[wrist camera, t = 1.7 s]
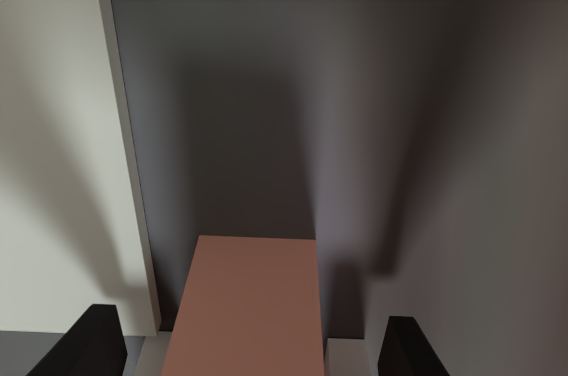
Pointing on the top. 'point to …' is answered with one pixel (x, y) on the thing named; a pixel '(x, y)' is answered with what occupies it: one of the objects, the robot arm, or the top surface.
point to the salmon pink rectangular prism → (249, 310)
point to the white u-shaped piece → (337, 365)
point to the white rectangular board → (68, 173)
